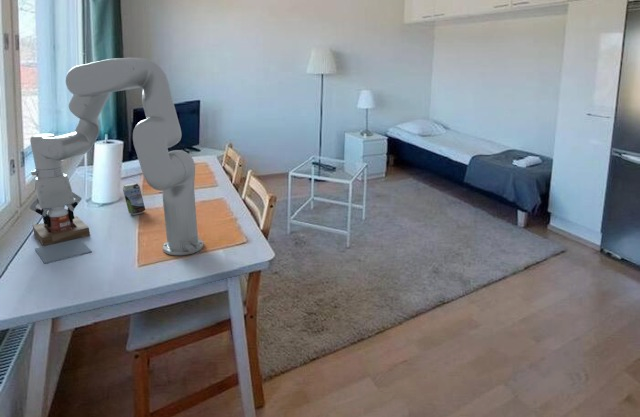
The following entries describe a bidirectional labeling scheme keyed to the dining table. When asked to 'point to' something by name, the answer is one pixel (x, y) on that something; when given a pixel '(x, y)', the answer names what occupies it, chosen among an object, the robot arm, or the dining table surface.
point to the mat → (62, 250)
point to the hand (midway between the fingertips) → (59, 223)
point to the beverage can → (133, 198)
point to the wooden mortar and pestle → (61, 232)
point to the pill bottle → (59, 219)
